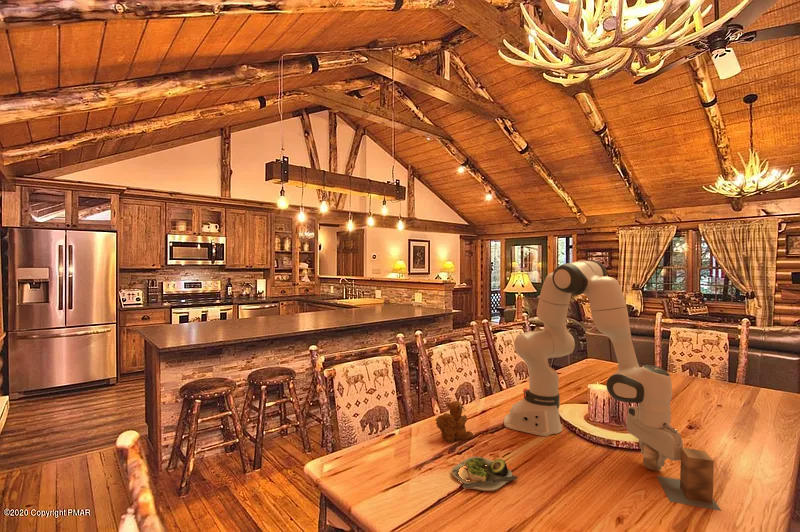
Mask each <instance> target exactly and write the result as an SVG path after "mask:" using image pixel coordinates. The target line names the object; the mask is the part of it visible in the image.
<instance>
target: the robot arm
mask: <svg viewBox="0 0 800 532" xmlns="http://www.w3.org/2000/svg"><path fill="white" fill-rule="evenodd" d="M583 294H584V295H585V296H586V297H587V300H588V302H589V303H588V304H589V308H590V313H591V318H592V321H593V323H594V325H595V328H596V330H597V331H598V332H600V333H601V334H603V335H605V336H606V337H608V338H609V340H610V341H611V343H612V345H613V348H614V353H615V356H616V360H617V361H616V362H617V370H616V371H615V372H614V373H613V374H611V375H610V376H609V378H607V380H606V389H607V392H608V394H609V395H610V397H611V398H613V399H614V400H616V401H618V402H622V403H629V404H638V405H636V406H635V405H634V406H628V407H627V408H626V412H627V413H628V414H627V415H626V430H627V432H628V434H629V435H632V436H633V437H634V438H637V439H638V444H639V446H640V453H641V454H642V455H644V445H645V444H647V445H649V446H650V447H652V448H653V449H655V450H656V451H658V452H659V455H660V457H659V458H656V464H658V465H659V466H662V467H665V463H666V460H667V459H668V460H671V461H674V462H675V461H681V448H684V444H683V438H682V434H680V432H679V430H678V429H677V428H674V427H672V426H671V422H672V408H671V401H672V398H673V386H672V385H673V384H672V383H673V382H672V377H671V374H670V373H669V372H668V371H667V370H665V369H664V368H662V367H659V366H656V365H651V364H645V365H643V366H641V364H640V362H639V359H638V355H637V352H636V347H635V343H634V341H633V338H632V334H631V327H630V317H629V311H628V307H627V302H626V298H625V296H624V292H623V290H622V287H621V285H620V283H619V281H618V280H617V279H616V278H614V277H611V276H608V270H607V268H606V267H605V266H604V264H602V263H601V262H599V261H596V260H590V259H589V260H577V261H576V260H575V261H573V262H569V263H568V262H566V263H563V264H561V265H558V266H557V267H556V268H555V269H554V270H553V272H550V273H548V274H547V275H546V277H545V279H544V282H543V284H542V287H541V289H540V294H539V297H538V298H539V299H538V303H537V308H536V312H535V313H536V317H537V319H538V321H540V322H541V323H543V329H542V330H533V331H532V330H531V331H529V330H528V331H525V332H522V333H519V334H518V335H516V337H515V339H514V342H513V343H514V344H513V347H514V351H515V353H516V354H517V356H519V358H521V359H522V360H523V362H524V363H525V365H526V366H527V370H528V377H529V380H528V381H529V389H528V387H524V388H523V389H522V391H523V398H522V399H521V400H519V401H516V402H515V403H513V404H512V405H511V408H510V411H509V413H508V414H506V415H505V416H504V417H503V425H504V427H505V428H507V429H511V430H514V431H517V432H518V431H519V432H522V433H527V434H531V435H536V436H540V437H548V436H549V435H553V434H554V435H555V434H559V433H561V432H562V431H563V427H562V424H561V423H562V422H561V419H560V410H559V409H560V403H561V402H560V401H561V399H560V397H561V395H560V393H559V379H560V377H559V374H558V372H557V371H556V370H555V369H554V368H552V367H550V365H549V361H548V360H549V359H554V358H563V357H565V356H569V355H570V354H572V353H573V352H574V350H575V347H576V343H575V342H576V341H575V338H574V336H573V335H572V334H571V333H570V331H569V329H568V328H567V317H568V312H569V311H568V310H569V306H570V301H571V297H572V295H578V296H581V295H583Z"/></svg>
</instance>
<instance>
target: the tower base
mask: <svg viewBox="0 0 800 532" xmlns="http://www.w3.org/2000/svg"><path fill="white" fill-rule="evenodd" d="M679 471H680V474H679V477H680V478H679V480H680V488H681V490H682V491H683V493H684V495H685V496H686V498H687V499H690V500H696V501H702V502H707V503H713V500H714V481H713V482H709V481H703V480H697V479H691V478H687V476H686V475H685V473H684V472H683V470H682V469H681V467H680V470H679Z"/></svg>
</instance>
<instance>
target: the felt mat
mask: <svg viewBox="0 0 800 532" xmlns="http://www.w3.org/2000/svg"><path fill="white" fill-rule="evenodd" d="M655 477H656V478H657V480H658V483H659V484H660V486H661V489H662V490H663V492H664V493H665V495H666V498H667V499H668V501H669V502H670V503H676V504H681V505H686V506H687V505H688V506H692V507H698V508H703V509H709V510H716V511H721V512H722V509H721V508H720V507H719V505H718V504H717V502H716V501H715V500H714V499H713V503H707V502H702V501H696V500H690V499H687V498H686V496H685V495H684V493H683V491H682V490H681V488H680V478H679V479H678V478H674V477H673V478H672V477H666V476H661V475H655Z"/></svg>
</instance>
